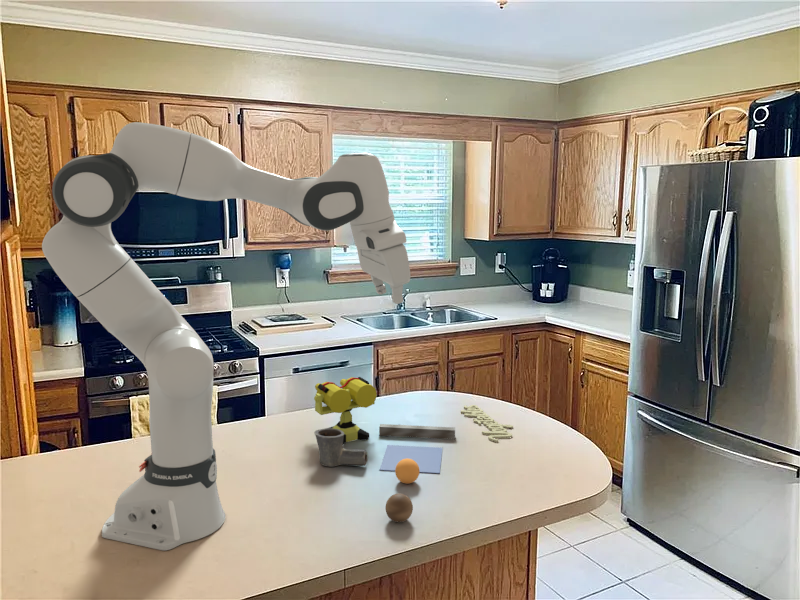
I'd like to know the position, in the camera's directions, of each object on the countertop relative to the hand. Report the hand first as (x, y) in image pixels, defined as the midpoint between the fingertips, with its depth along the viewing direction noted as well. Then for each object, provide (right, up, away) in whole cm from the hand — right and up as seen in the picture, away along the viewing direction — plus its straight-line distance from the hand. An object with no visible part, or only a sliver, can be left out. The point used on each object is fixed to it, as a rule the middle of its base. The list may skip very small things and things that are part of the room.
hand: (389, 297), depth 125 cm
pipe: (-12, -40, +19) cm, 46 cm away
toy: (-13, -36, +37) cm, 54 cm away
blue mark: (+5, -39, +22) cm, 45 cm away
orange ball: (+4, -39, +10) cm, 40 cm away
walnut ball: (+2, -41, -6) cm, 42 cm away
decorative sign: (+27, -36, +46) cm, 64 cm away
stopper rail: (+7, -37, +36) cm, 52 cm away
